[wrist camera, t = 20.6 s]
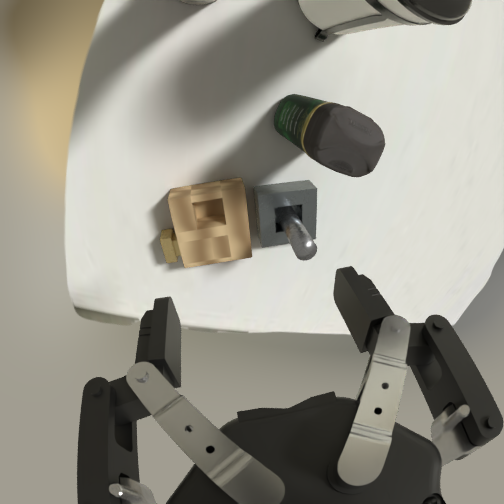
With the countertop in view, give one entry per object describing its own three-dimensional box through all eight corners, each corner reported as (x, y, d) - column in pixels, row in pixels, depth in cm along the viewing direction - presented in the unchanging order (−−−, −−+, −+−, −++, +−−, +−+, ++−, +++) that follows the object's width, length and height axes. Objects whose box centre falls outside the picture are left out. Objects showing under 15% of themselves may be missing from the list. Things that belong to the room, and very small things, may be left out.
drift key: (161, 230, 50) (159, 240, 48) (204, 222, 51) (205, 232, 48) (168, 252, 53) (166, 263, 50) (209, 246, 54) (210, 256, 51)
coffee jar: (266, 131, 44) (303, 162, 28) (283, 88, 40) (331, 94, 25) (318, 150, 47) (372, 190, 31) (335, 110, 43) (399, 132, 28)
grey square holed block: (253, 186, 49) (257, 195, 45) (309, 180, 49) (317, 188, 46) (258, 236, 54) (262, 247, 51) (308, 228, 55) (315, 239, 52)
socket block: (185, 252, 54) (184, 268, 50) (170, 188, 46) (167, 200, 42) (248, 242, 55) (252, 257, 51) (240, 177, 47) (244, 187, 43)
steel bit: (274, 204, 50) (295, 243, 39) (292, 201, 50) (317, 239, 40) (275, 220, 52) (295, 262, 41) (292, 217, 52) (316, 258, 41)
